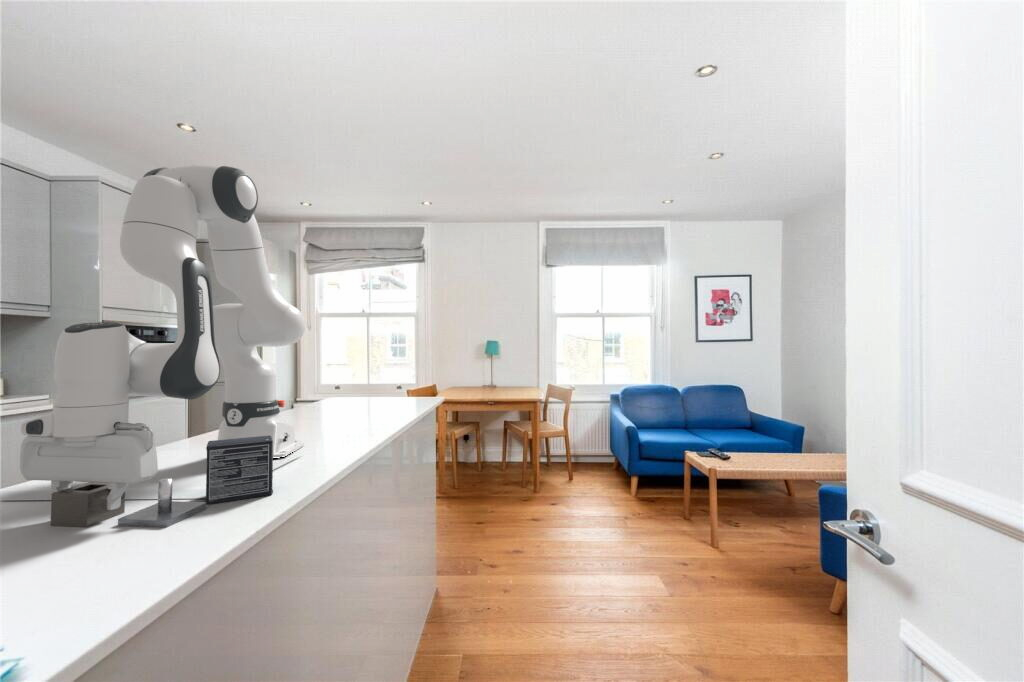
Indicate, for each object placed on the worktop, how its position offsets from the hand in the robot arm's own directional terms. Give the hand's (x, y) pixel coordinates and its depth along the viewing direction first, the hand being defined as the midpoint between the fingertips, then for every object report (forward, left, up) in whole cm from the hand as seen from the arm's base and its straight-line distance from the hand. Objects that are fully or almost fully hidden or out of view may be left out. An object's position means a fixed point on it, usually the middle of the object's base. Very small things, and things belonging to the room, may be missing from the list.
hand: (89, 508), depth 69 cm
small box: (-13, +16, -2) cm, 21 cm away
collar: (0, 0, -2) cm, 2 cm away
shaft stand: (-2, +11, -2) cm, 11 cm away
